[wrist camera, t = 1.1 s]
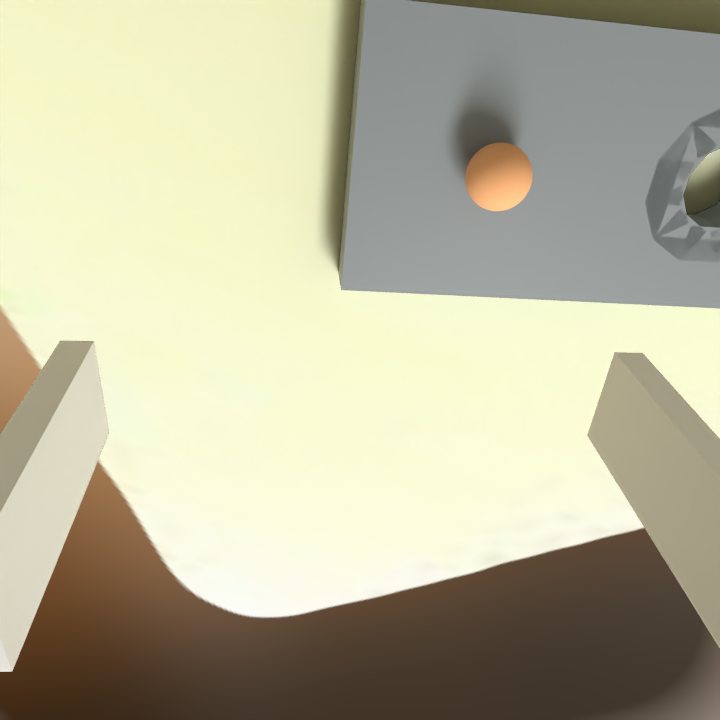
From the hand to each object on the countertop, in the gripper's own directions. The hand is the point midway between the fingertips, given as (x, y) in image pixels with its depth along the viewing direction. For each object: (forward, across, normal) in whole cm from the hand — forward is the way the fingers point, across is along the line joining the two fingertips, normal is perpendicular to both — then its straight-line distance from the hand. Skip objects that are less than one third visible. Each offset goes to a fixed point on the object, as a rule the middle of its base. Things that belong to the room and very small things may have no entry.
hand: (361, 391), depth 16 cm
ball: (+17, +8, +1) cm, 19 cm away
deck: (+21, +15, +1) cm, 26 cm away
